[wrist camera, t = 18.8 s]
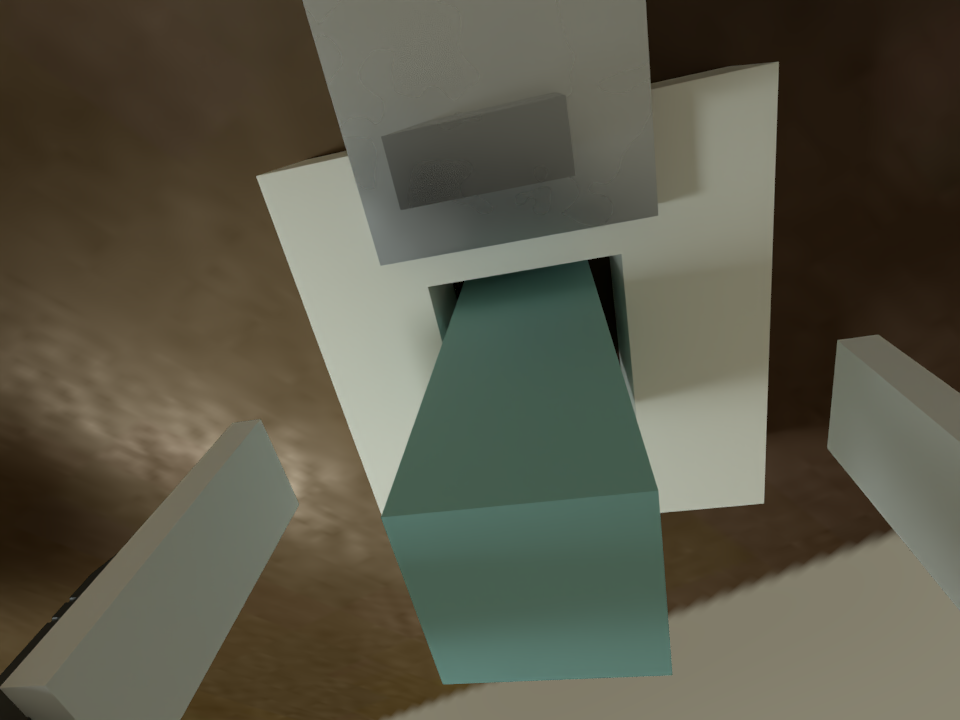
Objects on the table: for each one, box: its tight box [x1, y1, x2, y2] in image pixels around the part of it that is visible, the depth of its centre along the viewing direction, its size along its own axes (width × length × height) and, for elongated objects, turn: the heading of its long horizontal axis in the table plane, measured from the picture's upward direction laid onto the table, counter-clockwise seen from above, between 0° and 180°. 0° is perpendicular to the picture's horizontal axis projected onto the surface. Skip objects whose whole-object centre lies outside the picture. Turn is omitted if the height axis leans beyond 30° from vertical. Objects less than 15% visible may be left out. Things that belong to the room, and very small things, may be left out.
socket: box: [256, 62, 779, 514], centre depth 18 cm, size 13×13×4 cm
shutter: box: [302, 0, 658, 266], centre depth 10 cm, size 7×7×5 cm
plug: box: [381, 260, 672, 684], centre depth 14 cm, size 4×4×12 cm
